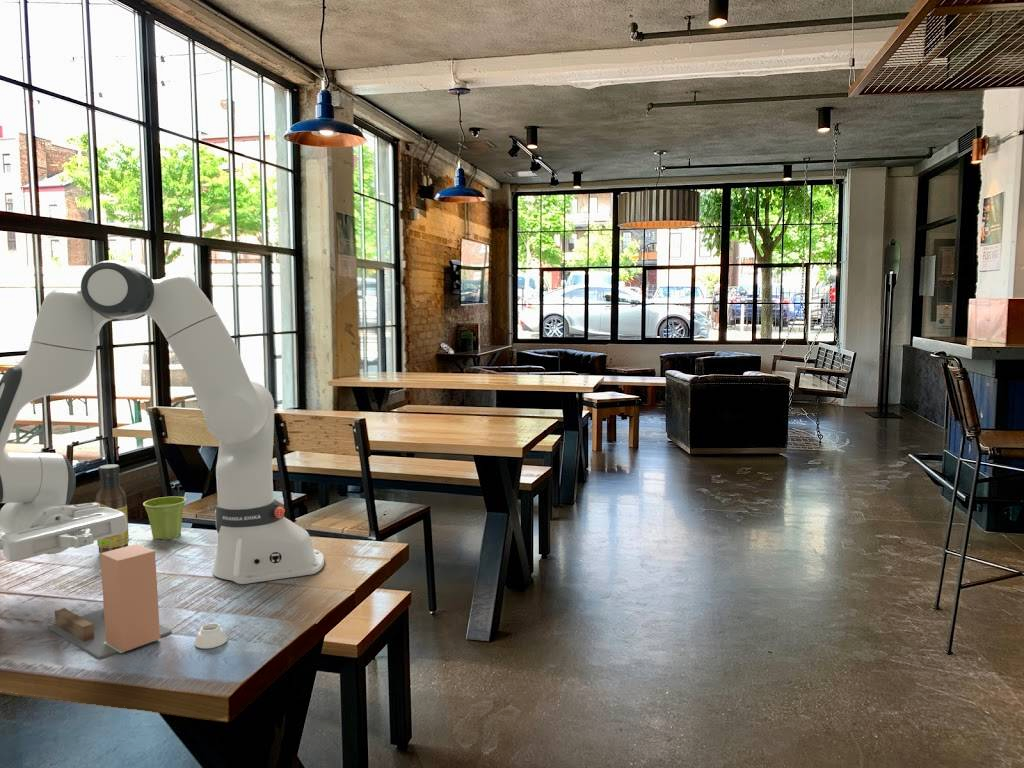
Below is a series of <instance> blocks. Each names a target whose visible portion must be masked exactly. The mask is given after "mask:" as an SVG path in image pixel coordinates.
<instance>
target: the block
mask: <svg viewBox="0 0 1024 768" xmlns="http://www.w3.org/2000/svg"><path fill="white" fill-rule="evenodd" d="M99 554H100V555H99V557H100V558H99V559H100V568H101V569H100V570H101V571H100V573H101V586H102V588H101V589H102V601H103V609H104V618H105V633H106V642H107V643H109V644H111V645H113V646H114V647H116V648H118V649H120V650H121V651H123V653H125V652H128V651H130V649H131V650H133V648H134V649H136V648H139V647H142V646H144V644H145V645H147V643H148V644H150V643H152V641H153V642H156V641H158V639H159V640H161V639H160V638H161V637H160V627H159V625H160V613H159V596H158V580H157V579H158V578H157V577H158V576H157V565H156V564H157V563H156V561H157V560H156V550H155V549H154V550H153V549H151V548H148V547H146V546H143V545H141V544H138V543H135V544H132V545H131V544H130V545H128V546H127V547H123V548H119V549H115V550H111V551H107V552H103V553H99ZM155 640H156V641H155ZM141 645H142V646H141ZM138 646H139V647H138ZM127 650H128V651H127Z"/></svg>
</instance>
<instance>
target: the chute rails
mask: <svg viewBox="0 0 1024 768" xmlns="http://www.w3.org/2000/svg"><path fill="white" fill-rule="evenodd" d="M80 616H81V615H78V614H77V613H75V612H73V611H70V610H69V609H67V608H65V607H63V608H60V609H57V610H54V620H55V621H54V622H55V623H54V624H56V625H57V626H58V627H60V628H62V629H64V630H65V631H67V632H69V633H70V634H72V635H74V636H75V637H77V638H79V639H80V640H82V641H84V642H85V641H88V640H91V639H94V627H93V624H92V623H91V622H89V621H87V620H85V619H83V618H82V617H80Z"/></svg>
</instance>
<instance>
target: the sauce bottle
mask: <svg viewBox="0 0 1024 768" xmlns="http://www.w3.org/2000/svg"><path fill="white" fill-rule="evenodd" d="M98 473H99V479H100V483H99V484H100V485H99V486H100V489H99V490H98V491H97V493H96V496H95V500H94V503H99V504H100V507H107V508H112V509H115V510H118V511H121V512H123V513H125V515H126V519H127V530H126V532H124V533H122V534H118V535H114V536H110V537H106V538H103V539H99V540H96V542H97V547H98V553H99V554H100V553H103V552H107V551H111V550H115V549H119V548H123V547H127V546H129V542H130V538H129V520H128V504H127V495H126V493H125V490H124V489H123V488H122V487H121V486H120V484H121V482H120V476H119V475H120V474H119V473H120V465H119V464H114V463H113V464H104V465H100V466H99V467H98Z"/></svg>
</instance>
